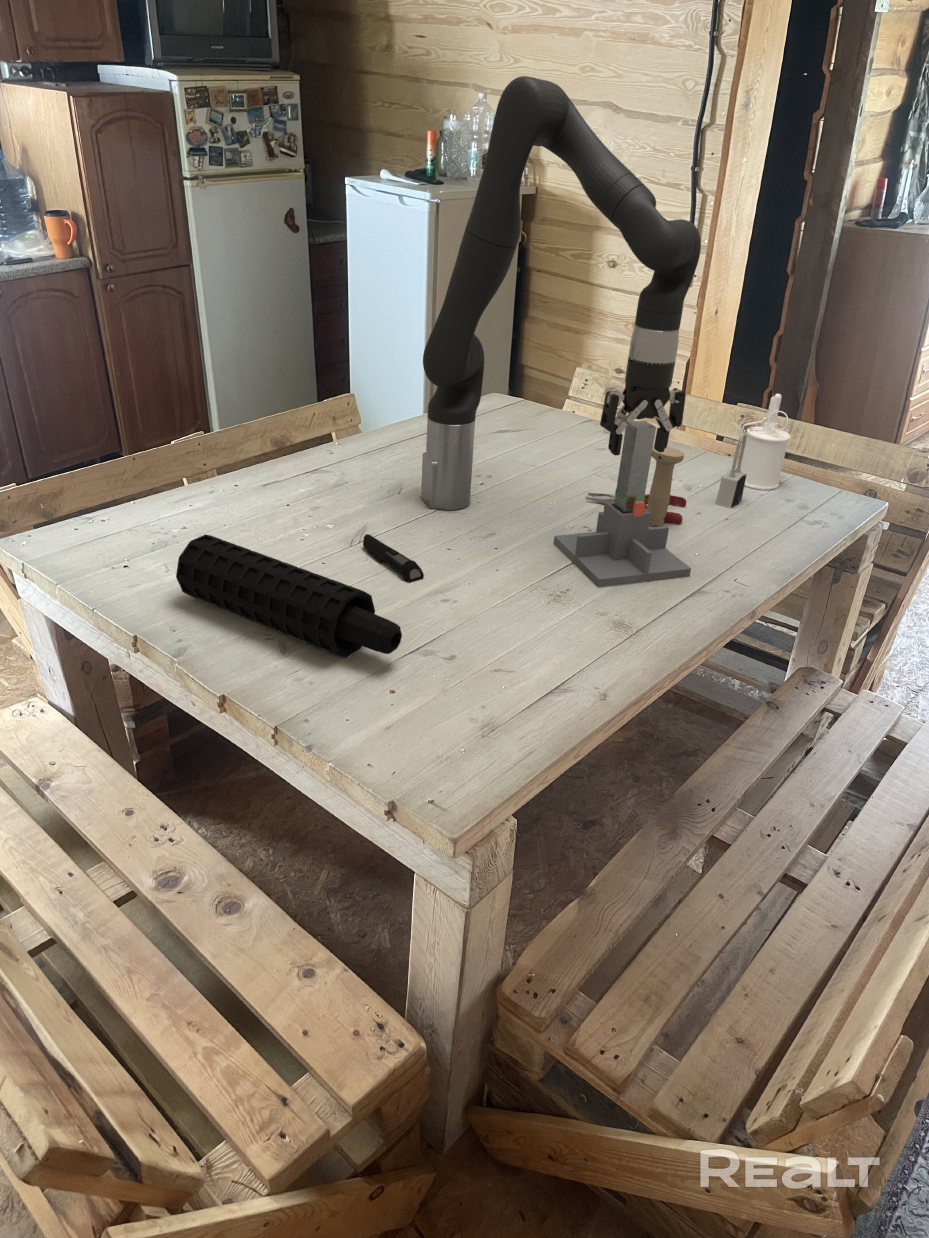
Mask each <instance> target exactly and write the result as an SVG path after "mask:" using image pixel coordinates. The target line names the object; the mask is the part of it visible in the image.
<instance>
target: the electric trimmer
mask: <svg viewBox="0 0 929 1238" xmlns="http://www.w3.org/2000/svg"><path fill="white" fill-rule="evenodd" d="M362 546H363V548H364V549H365V550H366V551H367V552H368V553H369V554H370V555H371V556H372V557H373V558H374V559H375V560H376V561H377V562H378V563H380V564H386V565H387V566H389V567H390V568H392V569H393V570H394V571H395V572H397V573H399V574H400V575H401V576H402V579H403V581H404V582H407V583H415V582H418V581H420V580H421V581H422V580H423V579H424V577H425V576H424V575H425V574H424V572H423V569H422V568H421V567H420V565H419V564H418V563H417V561H414V560H412V559H410V558H408V557H407V556H405V555H404V554H402V553H400V552H399V551H398V550H395V549H394V548H392V547H390V546H389V545H387V544H385V543H384V542H382V541H380V540H379V539H377V538H376V537H374V536H372V535H371V534H368V533H367V534H366V533H365V535H364V536H363V542H362Z"/></svg>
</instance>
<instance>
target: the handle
mask: <svg viewBox="0 0 929 1238" xmlns="http://www.w3.org/2000/svg"><path fill="white" fill-rule="evenodd" d="M684 457H685V453H684V451H681V450H679V449H677V448H674V447H671V446H667V447H666V449H664V452H658V451H656V450H655V449H654V446H653V449H652V455H651V458H653V459H654V460H655V464H656V465H655V467H654V468H655V469H654V473H653V477H652V478H653V479H652V482H651V486H650V490H649V499H648V504H647V506H648V508H647V510H648V511H650V512H651V513H652V514H651V519H650V525H649V527H662V526H663V525H664V519H663V518H665V515H666V512H668V508H669V505H668V504H669V500H670V495H671V492H672V491H671V490H672V483H673V473H674V470H675V469H674V467H675V465H677V464H679V463H682V462H683V461H684Z"/></svg>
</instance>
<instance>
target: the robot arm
mask: <svg viewBox="0 0 929 1238" xmlns="http://www.w3.org/2000/svg"><path fill="white" fill-rule="evenodd" d="M497 103H498V104H497V107H496V111H495V115H494V117H493V123H492V128H491V133H490V138H489V142H488V143H489V144H488V148H487V152H486V157H485V161H484V165H483V169H482V173H481V176H480V180H479V183H478V187H477V190H476V194H475V197H474V200H473V205H472V208H471V211H470V214H469V217H468V220H467V222H466V225H465V229H464V232H463V235H462V239H461V242H460V245H459V249H458V253H457V256H456V259H455V263H454V267H453V270H452V271H451V276H450V278H449V282H448V285H447V289H446V293H445V296H444V301H443V303H442V306H441V309H440V311H439V313H438V316H437V318H436V321H435V323H434V326H433V328H432V330H431V333H430V335H429V338H428V340H427V342H426V344H425V347H424V351H423V354H422V355H423V356H422V366H423V371H424V374H425V375H426V378H427V379H428V380H429V381H430V383H431V384H433V385H435V386H436V390H435V392H434V394H433V395H432V397H431V398H430V400H429V401H428V404H427V419H426V422H427V424H426V443H425V447H426V448H425V452H423V453H422V460H421V462H422V463H421V465H422V466H421V483H420V484H421V485H420V486H421V487H420V488H421V491H420V499H422V500H423V502H424V503H425V505H426V506H427V507H428V509H431V510H432V509H437V510H445V511H453V510H461V509H465V508H466V507H468V506H469V505H470V503H471V496H472V494H471V491H472V488H471V487H472V476H473V459H474V447H475V446H474V444H475V431H476V430H475V428H476V416H477V415H476V414H477V410H478V407H479V405H480V403H481V399H482V398H481V397H482V390H483V382H484V380H483V379H484V372H485V371H484V370H485V351H484V348H483V347H484V346H483V345H482V342H481V340H480V339H479V338H478V336H477V335H476V334H475V332H476V329H477V326H478V324H479V321H480V319H481V317H482V315H483V314H484V312H485V311H486V309H487V308H488V305H489V304H490V302H491V301H492V300H493V298H494V296H495V295H496V293H497V292H498V290H499V289H500V287H501V285H502V283H503V282H504V280H505V278H506V276H507V274H508V272H509V270H510V267H511V263H512V262H513V258H514V256H515V253H516V249H517V247H518V243H519V240H520V236H521V231H522V230H521V228H522V215H521V213H522V212H521V184H522V179H523V175H524V171H525V168H526V166H527V162H528V159H529V157H530V154H531V152H532V149H533V147H542V148H545V149H546V150H547V151H550V152H551V153H552V154H554V155H555V156H557V157H558V158H559V159H561V160H562V161H563V162H564V163H565V164H566V165H567V166H568V167H569V168H570V169H571V171H572V172H573V173H574V174H575V176H576V178H577V180H578V181H579V183H580V185H581V188H582V189H583V191H584V193H585V194H586V196H587V198H588V199H589V200H590V202H591V203H592V204H593V205H594V206H595V207H596V208H597V210H598V211H599V212H600V213H601V214H602V215H603V216H605V218H606V219H607V220H608V221H609V223H611V224H612V225H613V226H614V227H616V228H617V229H618V230H619V231H620V234H621V235H622V237H623V240H624V241H625V242H626V244H627V246H628V247H629V249H630V250H631V252H632V253H633V254H634V256H635V258H637V260H638V261H639V262H640V263H641V264H642V265H644V266H645V267H646V268H648V270H649V269H650V270H651V271H653V275H652V277H651V281H650V282H649V284H648V285H646V286H645V287H644V288H643V289H642V290H641V291H640V293H639V297H638V302H637V306H636V307H637V308H636V314H635V320H634V326H633V331H632V333H631V338H630V343H629V350H628V357H627V363H626V370H625V371H626V372H625V376H624V384H625V386H624V389H623V391H622V392H613V391H611V390H608V391H606V393H605V395H604V401H603V407H602V412H601V419H600V422H599V425H600V427H602V428H603V429H605V430H606V431H608V432H609V438H608V439H609V440H608V446H607V447H608V450H609V451H610V453H611V454H612V455H614V456H615V457H616V456H620V455H621V452H622V450H621V449H622V445H623V438H624V434H622V433H623V432H624V431H625V429H626V427H627V425H629V424H631V423H632V422H633V421H635V420H642V419H655V422H656V423H657V425H658V427H656V432H655V438H654V444H653V447H654V449H655V450H656V451H658V452H664V449H666V447H668V444H669V443H668V442H669V438H670V432H671V431H672V429H674V428H676V427H677V428H680V427H681V426H683V425H682V424H683V419H684V412H685V406H686V405H685V403H686V395H687V394H686V392H684V391H683V390H681V389H679V388H677V387H674V388H673V389H672V390H670V388H671V386H672V385H673V379H674V373H675V366H676V360H677V356H678V355H677V353H678V349H679V348H678V347H679V343H680V342H679V340H680V329H681V323H682V322H681V321H682V316H683V311H684V310H683V309H684V303H685V299H686V296H687V294H688V292H689V290H690V286H691V284H692V281H693V278H694V276H695V273H696V270H697V266H698V264H699V261H700V256H701V249H702V246H701V245H702V239H701V235H700V231H699V229H698V228H697V226H696V225H695V224H694V223H693V222H691V221H689V220H686V219H671V220H668V219H666V218H665V217H664V216H663V215H662V214H661V213H660V212H659V210H657V199H656V197H655V194H653V192H652V191H651V190H650V189H649V188H648V187H647V186H646V184H644V183H643V182H642V181H641V180H640V179H639V178H638V177H637V175H635V174H634V173H633V172H632V171H631V170H630V169H629V168H628V167H627V166H626V165H625V164H624V163H623V162H621V160H620V159H618V157H617V156H615V154H613V152H612V151H611V150H609V148H608V146H606V145H605V144H604V143H603V141H602V140H601V139H600V138H599V136H597V134H596V133H595V132H594V131H593V130H592V128H591V127H590V125H589V124H588V122H587V121H586V120H585V119H584V117H583V116H582V115H581V113H580V112H579V110H578V109H577V107H576V105H575V104H574V103H573V101H572V100H571V99H570V97H569V96H568V95H567V93H566V92H565V91H564V89H563V88H562V87H561V86H559V84H557V83H555V82H552V81H549V80H545V79H541V78H536V77H532V76H528V75H527V76H526V75H522V76H518V77H516V78H514V79H513V80H511V81H510V82H509V83H508V84H507V85H506V87H505V88H504V90H503V92H502V93H501V95H500V98H499V100H498V102H497ZM621 403H623V405H622V406H621ZM667 403H670V404H669V405H670V406H669V412H668V413H667V410H666V409H665V406H666V404H667ZM620 406H621V407H620ZM618 407H620V409H619V410H618Z"/></svg>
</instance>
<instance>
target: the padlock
mask: <svg viewBox="0 0 929 1238" xmlns="http://www.w3.org/2000/svg"><path fill="white" fill-rule="evenodd" d="M740 434H741V433H740ZM746 439H747V432H743V433H742V434H741V436H739V438H738V440H737V444H736V448H735V451H734V457H733V461H732V467H731V470H728V471H726V472H725V473H724V474H723V475H722V477H721V479H720V484H719V487H718V488H719V489H718V492H717V497H716V501H715V505H717V506H721V507H725V508H728V509H732V508H734V507H736V506H737V505H739V503H740V502H741V501H742V499H743V495H744V490H745V486H744V485H745V481H746V476H747V474H746V473H742V472H741V469H740V467H741V462H742V458H743V453H744V449H745V444H746Z"/></svg>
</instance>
